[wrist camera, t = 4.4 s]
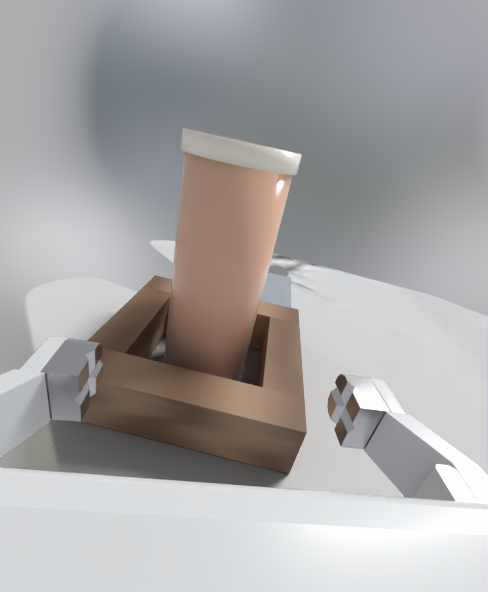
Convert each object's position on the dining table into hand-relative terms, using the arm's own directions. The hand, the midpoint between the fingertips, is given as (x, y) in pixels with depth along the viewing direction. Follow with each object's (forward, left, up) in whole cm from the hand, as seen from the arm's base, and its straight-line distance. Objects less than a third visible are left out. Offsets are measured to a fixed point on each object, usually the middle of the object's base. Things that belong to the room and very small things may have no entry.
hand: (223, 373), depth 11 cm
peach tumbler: (-2, +11, -9) cm, 15 cm away
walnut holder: (-2, +10, -9) cm, 14 cm away
